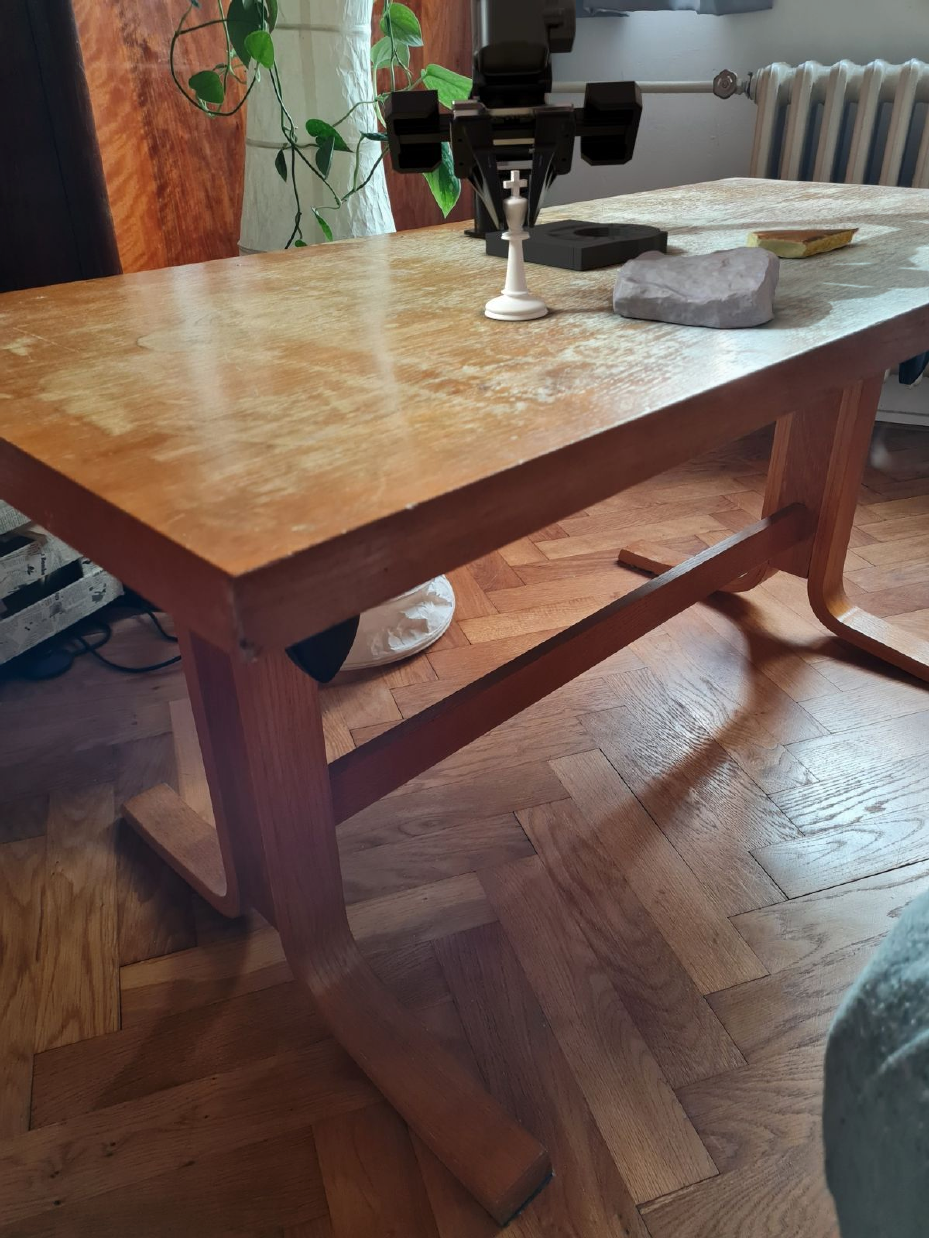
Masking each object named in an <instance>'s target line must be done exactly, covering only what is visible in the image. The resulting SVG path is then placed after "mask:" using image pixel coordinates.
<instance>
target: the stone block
mask: <svg viewBox="0 0 929 1238" xmlns="http://www.w3.org/2000/svg"><path fill="white" fill-rule="evenodd" d="M780 270H781V261H780V258H779V256H776V255H775V254H774V253H773V252H771V251H768V250H765V249H764V248H762V247H746V246H743V247H741V246H740V247H735V248H729V249H718V250H717V249H716V250H715V251H713V252H710V253H705V254H693V255H687V256H686V255H684V256H683V255H674V254H672V255H668V254H666V253H661V252H659V251H649V252H645V253H642V254H641V255H640V256H638V257H637V258H635V259H632V260H631V259H630V260H628V261H627V262H624V264H623V265H622V266H621V268H620V269H619V270H618V271H619V272H618V273H617V274H616V277H615V282H614V286H613V292H612V307H613V308H612V309H613V312H614V313H615V314H617V315H621V316H623V317H624V318H635V319H643V320H653V321H661V322H667V323H673V324H680V325H686V326H687V325H688V326H702V327H709V328H716V329H732V328H733V329H734V328H753V327H756V326H759V325H761V324H764V323H767V322H768V321H770V320H774V317H775V316H774V313H773V302H774V300H775V297H776V290H777V286H778V283H779V278H780Z"/></svg>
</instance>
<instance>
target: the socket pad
mask: <svg viewBox="0 0 929 1238" xmlns="http://www.w3.org/2000/svg"><path fill="white" fill-rule="evenodd" d="M522 229H523V230H522V231H525V232H528V233H529V236H530V237H529V238H528V239H524V240H522V250H523V260H524V262H528V263H533V264H539V265H545V266H552V267H557V268H562V269H566V270H573V271H578V272H579V271H580V272H582V271H588V270H592V269H597V268H602V267H606V266H607V267H608V266H610V265H611V266H612V265H616V264H622V263H624V264H625V263H626V262H627V261H628V260H630V259H631V260H632V259H635V258H637V257H638V256H640V255H641V254H642V253H645V252H649V251H659V252H661V253H663V254H667V252H668V251H667V250H668V239H669V231H668V230H667V231H666V230H661V228H659V227H655V226H652V225H646V224H638V223H625V222H624V223H623V222H622V223H621V222H595V221H586V220H581V219H580V220H579V219H570V218H569V219H563V220H557V221H551V222H545V223H539V224H535V226H534V228H528V226H527V227H522ZM505 232H509V231H508V230H503V231H497V232H491V233H486V234H485V235H486V238H485V255H489V256H495V257H500V258H505V259H508V257H509V240H504V239H502V238H501V237H502V236H503V235H502V234H503V233H505Z"/></svg>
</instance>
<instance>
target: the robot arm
mask: <svg viewBox="0 0 929 1238" xmlns="http://www.w3.org/2000/svg"><path fill="white" fill-rule="evenodd" d="M576 11H577V9H576V0H470V20H471V21H470V25H471V26H470V27H471V28H470V32H471V84H472V85H471V88H470V90H469V92H468V95H467V99H458V100H457V99H455V100H452V101H451V104H450V105H451V108H450V109H451V112H447V113H444V112H443V113H441V112H440V100H439V89H436V88H434V89H413V90H394V91H393V90H392V91H391V92H390V93H389V94H388V95H387V97H386V98H385V100H384V124H385V130H386V136H387V137H386V138H387V142H388V143H387V144H388V150H389V156H390V157H389V158H390V162H391V169H392V170H393V171H394V172H396V173H398V174H400V175H411V174H433V173H434V172H435V171H436V170H437V169H438V168H440V167H441V166H442V165H443V148H442V147H443V145H442V144H443V143H450V149H451V153H452V167H453V176H454V177H455V178H456V179H457V180H465V181H466V180H467V181H468V183H469V184H470V185H471V187H472V194H473V196H472V197H473V199H472V200H473V226H474V228H469V229H464V230H463V235H466V236H471V237H478V238H484V239H486V235H485V234H486V233H491V232H497V231H503V230H508V229H509V226H508V223H507V220H506V216H505V213H504V210H503V200H504V199H507V198H509V197H510V196H511V188H504V181H511V171H519V180H527V187H519V196H521V197H522V198H526V199H528V209H527V211H526V215H525V220H524V223H523V226H522V227H527V226H528V228H534V226H535V225H536V223H537V221H538V218H539V216H540V212H541V210H542V207H543V204H544V202H545V199H546V197H547V195H548V193H549V191H550V189H551V188H552V187H553V185H554V183H555V182H556V180H557V178H558V177H559V176H565V175H568V174H569V173H570V172H571V171H572V167H573V166H572V165H573V158H574V156H573V155H574V151H575V150H574V149H575V141H576V137H580V138H579V140H580V141H579V151H580V153H579V154H580V159H581V160H583V161H584V162H585V163H587V164H588V165H589V166H590V167H600V166H601V167H603V166H605V167H606V166H624V165H626V164H628V163H629V162H630V161H632V160H633V157H634V153H635V147H636V143H637V138H638V134H639V129H640V123H641V119H642V113H643V109H644V108H643V107H644V105H643V93H642V88H641V87H640V86H639V84H638V83H637V82H636V81H635V80H618V81H617V80H615V81H594V82H593V81H591V82H585V90H584V97H583V106H582V107H574V106H575V105H574V103H573V102H555V103H554V102H553V103H550V100H549V99H550V98H549V97H550V96H549V94H552V91H553V61H552V59H553V58H552V54H570V53H572V52H573V51H574V47H575V42H576V41H575V40H576V33H577V15H576V14H577V13H576ZM529 161H531V164H522V165H521V164H520V165H498V163H510V162H529Z"/></svg>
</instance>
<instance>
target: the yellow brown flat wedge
mask: <svg viewBox="0 0 929 1238" xmlns="http://www.w3.org/2000/svg"><path fill="white" fill-rule="evenodd" d="M859 230H860V228H859V227H856V228H835V229H834V228H829V229H828V228H823V229H822V228H820V229H819V228H818V229H817V228H807V229H805V228H804V229H773V230H771V229H769V230H767V229H766V230H754V231H750V232H749V233H748V234H747V237H746V243H745V247H762V248H764V249H765V250H768V251H771V252H773V253H774V254H775V255H776V256H777V257H781V258H787V259H793V258H794V259H795V258H801V259H804V258H806V257H808V256H814V255H816V254H819V253H827V252H830V251H832V250H835V249H838V248H839V249H840V248H842V247H844V246H847V244H850V243H852V240H853V238H854V237H853V236H854V235H855V234H856V233H857V232H859Z"/></svg>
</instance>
